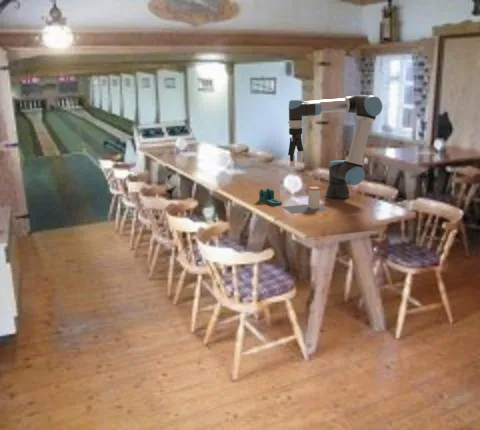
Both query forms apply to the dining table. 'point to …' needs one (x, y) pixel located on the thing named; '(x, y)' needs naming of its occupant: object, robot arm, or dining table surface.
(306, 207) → the slate mat
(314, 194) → the cream block
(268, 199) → the bracket
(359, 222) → the dining table surface
